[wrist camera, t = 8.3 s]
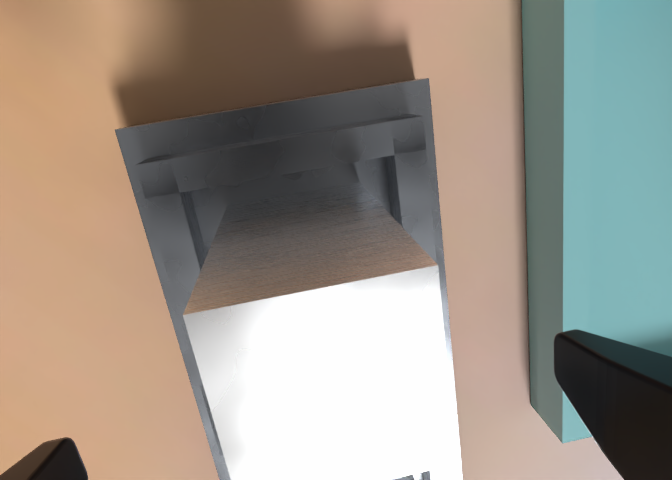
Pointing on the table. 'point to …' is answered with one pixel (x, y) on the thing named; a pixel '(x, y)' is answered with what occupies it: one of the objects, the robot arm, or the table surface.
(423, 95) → the dark grey tray
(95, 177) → the table surface
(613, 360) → the robot arm
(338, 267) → the billet
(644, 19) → the teal tray
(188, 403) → the table surface
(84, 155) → the table surface
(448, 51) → the table surface
